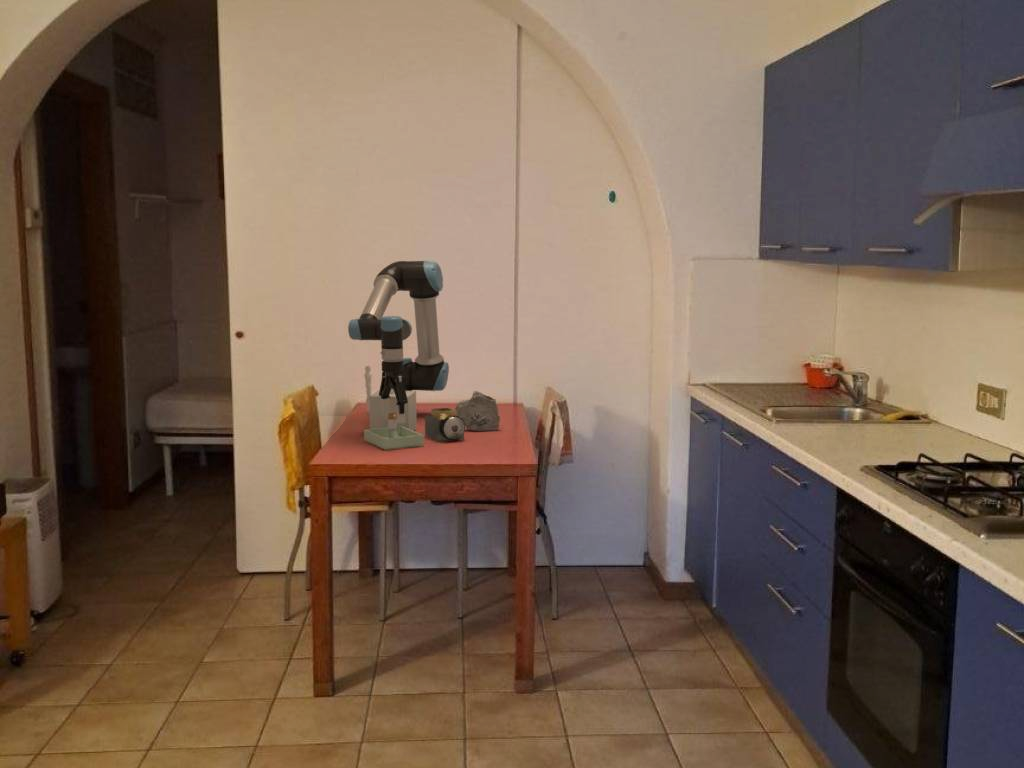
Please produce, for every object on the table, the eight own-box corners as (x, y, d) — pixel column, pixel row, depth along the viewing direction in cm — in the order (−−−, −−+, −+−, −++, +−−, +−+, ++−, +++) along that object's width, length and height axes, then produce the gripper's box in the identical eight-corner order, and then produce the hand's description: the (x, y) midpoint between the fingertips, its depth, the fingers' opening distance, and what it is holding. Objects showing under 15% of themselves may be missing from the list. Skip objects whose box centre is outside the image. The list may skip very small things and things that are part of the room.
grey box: (408, 436, 372) (407, 368, 369) (360, 435, 374) (359, 368, 371) (416, 428, 387) (415, 363, 383) (370, 427, 389) (369, 363, 385)
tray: (364, 440, 364) (364, 429, 364) (401, 436, 371) (401, 425, 371) (385, 450, 347) (385, 439, 347) (423, 446, 354) (423, 435, 354)
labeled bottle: (386, 441, 360) (386, 413, 358) (396, 440, 362) (395, 412, 360) (390, 443, 357) (390, 415, 355) (400, 442, 359) (399, 414, 357)
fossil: (454, 432, 380) (453, 393, 377) (454, 429, 386) (453, 390, 384) (500, 431, 380) (499, 392, 378) (499, 428, 387) (499, 389, 385)
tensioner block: (425, 436, 372) (424, 408, 370) (449, 433, 377) (449, 406, 375) (442, 443, 359) (442, 414, 357) (467, 440, 364) (467, 412, 362)
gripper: (369, 357, 364) (370, 415, 367) (396, 364, 342) (397, 426, 345) (388, 356, 367) (389, 413, 371) (416, 363, 346) (417, 424, 349)
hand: (393, 419), depth 358 cm, fingers open, 13 cm apart
